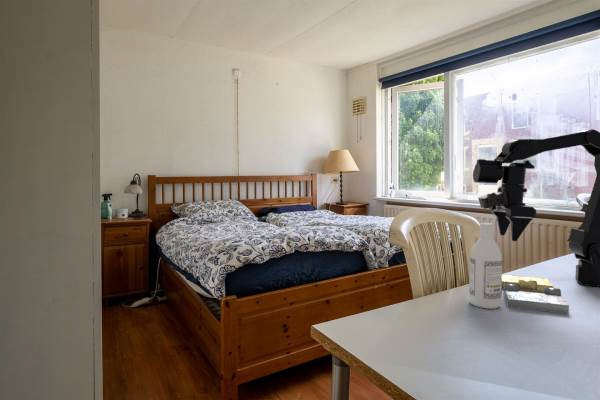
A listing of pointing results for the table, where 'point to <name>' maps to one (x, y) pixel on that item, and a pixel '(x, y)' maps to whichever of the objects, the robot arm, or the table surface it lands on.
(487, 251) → the bath foam
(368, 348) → the table surface
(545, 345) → the table surface
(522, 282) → the brass hinge plate
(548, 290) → the fixed leaf
